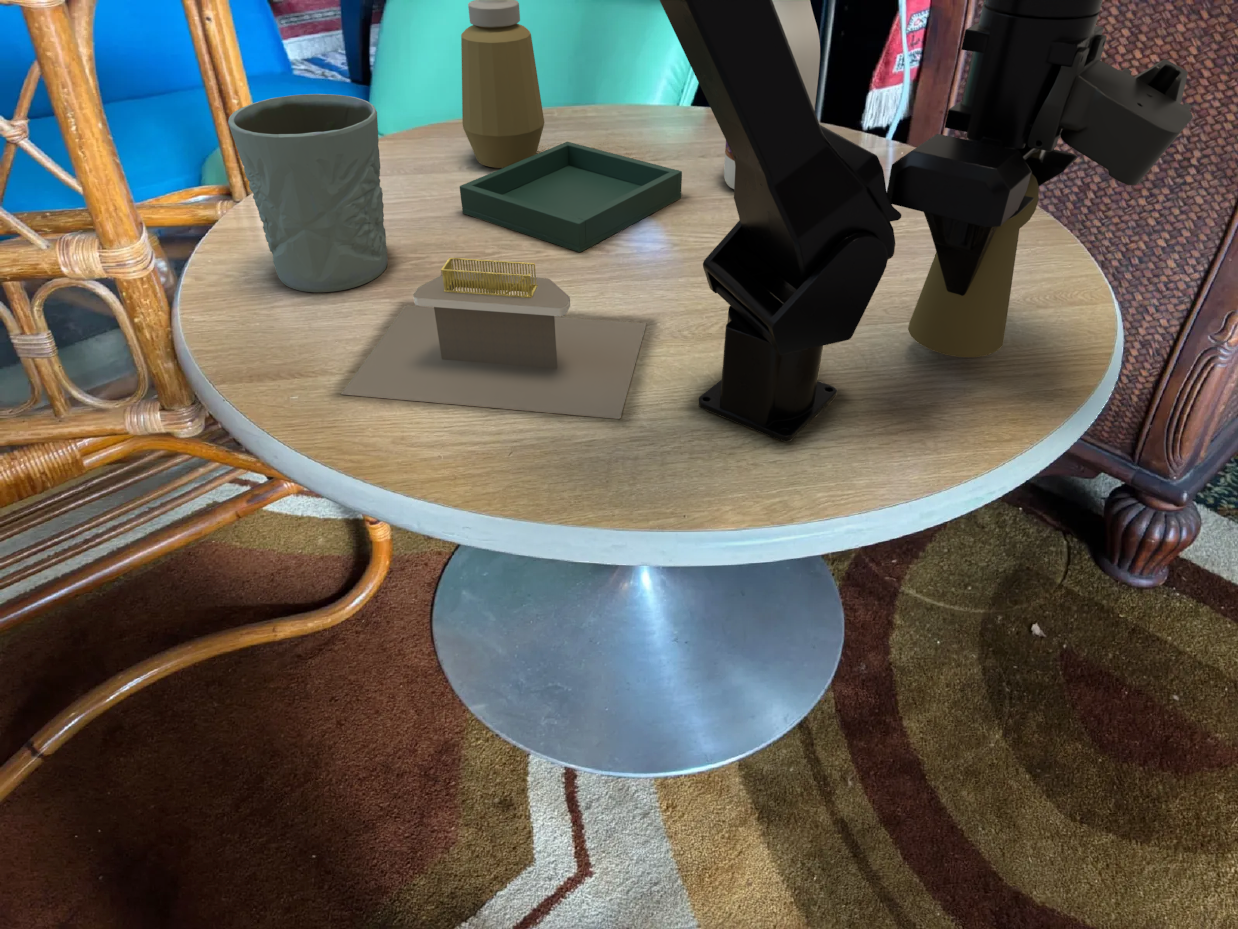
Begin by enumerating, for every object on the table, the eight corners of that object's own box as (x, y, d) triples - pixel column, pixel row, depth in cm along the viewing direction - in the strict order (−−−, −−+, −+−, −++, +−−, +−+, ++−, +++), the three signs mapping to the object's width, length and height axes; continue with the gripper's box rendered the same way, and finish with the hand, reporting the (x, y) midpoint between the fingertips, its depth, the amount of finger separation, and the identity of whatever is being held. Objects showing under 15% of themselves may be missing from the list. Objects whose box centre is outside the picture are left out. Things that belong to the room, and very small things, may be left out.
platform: (405, 305, 66) (390, 220, 62) (646, 323, 64) (648, 236, 60) (340, 394, 57) (318, 301, 53) (619, 419, 55) (619, 323, 51)
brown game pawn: (1009, 361, 56) (1063, 190, 49) (910, 352, 57) (949, 182, 50) (997, 315, 61) (1044, 153, 54) (905, 307, 62) (940, 146, 55)
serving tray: (580, 252, 73) (578, 223, 72) (462, 213, 80) (459, 185, 78) (681, 197, 82) (682, 170, 81) (568, 166, 89) (567, 140, 87)
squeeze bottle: (543, 174, 87) (531, -36, 76) (460, 174, 87) (436, -35, 76) (549, 146, 93) (539, -51, 82) (472, 146, 94) (451, -51, 83)
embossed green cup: (246, 268, 71) (201, 113, 64) (354, 230, 77) (325, 83, 70) (316, 310, 66) (276, 145, 58) (427, 265, 72) (403, 109, 64)
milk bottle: (818, 178, 86) (849, -62, 74) (784, 204, 81) (812, -48, 68) (745, 163, 89) (764, -69, 77) (708, 188, 84) (722, -57, 72)
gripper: (1166, 70, 37) (1055, 387, 47) (1246, -4, 49) (1144, 262, 58) (911, 33, 43) (859, 323, 52) (1037, -26, 54) (975, 220, 64)
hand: (970, 280), depth 56 cm, fingers closed on brown game pawn, 4 cm apart
